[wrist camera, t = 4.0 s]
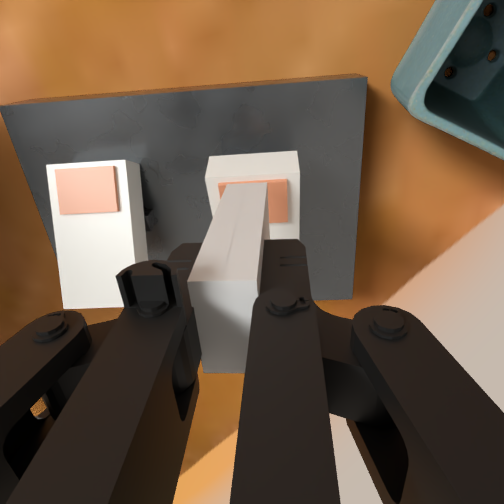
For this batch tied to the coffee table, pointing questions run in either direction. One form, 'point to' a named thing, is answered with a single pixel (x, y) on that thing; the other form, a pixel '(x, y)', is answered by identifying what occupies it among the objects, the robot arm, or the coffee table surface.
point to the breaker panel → (212, 144)
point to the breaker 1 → (96, 228)
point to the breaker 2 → (258, 171)
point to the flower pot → (457, 73)
